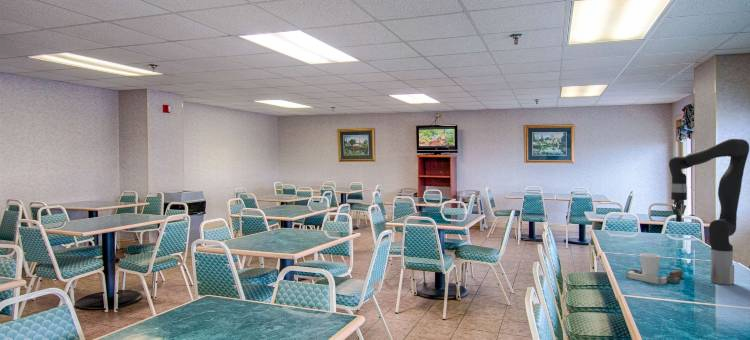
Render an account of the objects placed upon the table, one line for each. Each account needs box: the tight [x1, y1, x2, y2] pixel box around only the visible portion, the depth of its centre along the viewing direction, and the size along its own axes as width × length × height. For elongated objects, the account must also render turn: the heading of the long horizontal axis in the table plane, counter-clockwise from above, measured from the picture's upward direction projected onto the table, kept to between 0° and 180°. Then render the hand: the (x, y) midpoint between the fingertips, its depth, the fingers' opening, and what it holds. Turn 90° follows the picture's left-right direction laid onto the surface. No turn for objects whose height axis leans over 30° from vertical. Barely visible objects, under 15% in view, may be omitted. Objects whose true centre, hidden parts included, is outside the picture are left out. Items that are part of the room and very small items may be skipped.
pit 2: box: [665, 275, 681, 285], centre depth 248 cm, size 6×6×2 cm
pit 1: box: [627, 268, 642, 274], centre depth 263 cm, size 6×6×2 cm
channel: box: [640, 267, 683, 279], centre depth 261 cm, size 17×10×4 cm, turn 34°
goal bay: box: [625, 271, 668, 285], centre depth 252 cm, size 18×6×3 cm, turn 34°
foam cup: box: [639, 253, 661, 277], centre depth 254 cm, size 10×9×13 cm
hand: (678, 221), depth 270 cm, fingers closed
